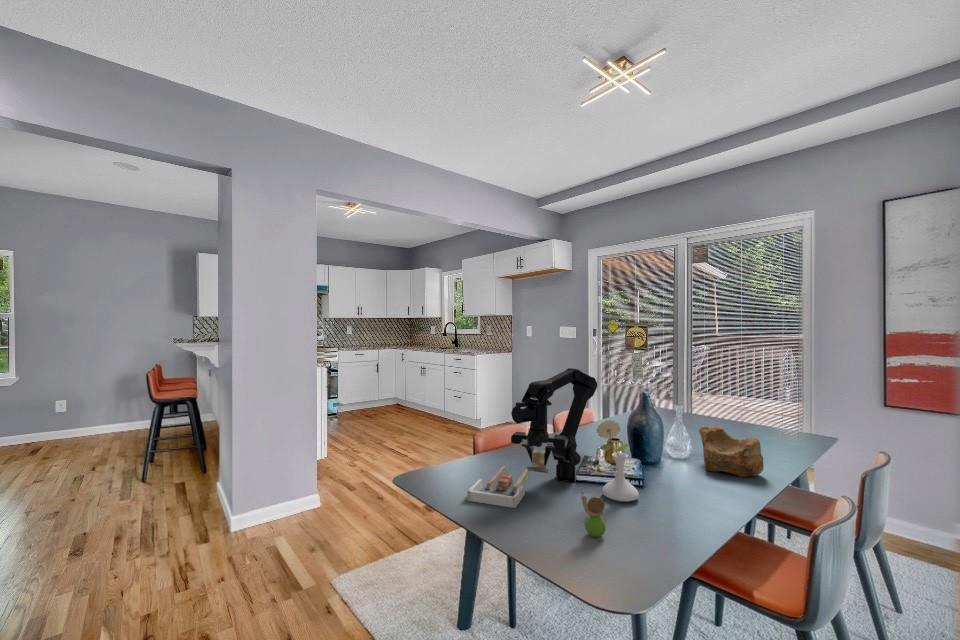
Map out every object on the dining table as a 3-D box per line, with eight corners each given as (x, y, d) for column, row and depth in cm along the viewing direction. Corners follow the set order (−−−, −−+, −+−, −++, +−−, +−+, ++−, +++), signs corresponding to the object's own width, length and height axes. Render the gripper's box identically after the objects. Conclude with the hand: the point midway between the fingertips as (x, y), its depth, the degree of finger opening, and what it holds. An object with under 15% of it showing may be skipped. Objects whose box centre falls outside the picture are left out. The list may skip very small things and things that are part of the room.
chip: (509, 487, 144) (509, 479, 144) (506, 490, 141) (506, 482, 141) (500, 486, 145) (500, 477, 145) (498, 489, 142) (498, 480, 142)
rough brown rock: (682, 467, 166) (680, 430, 165) (707, 457, 174) (706, 422, 173) (742, 489, 145) (741, 447, 144) (767, 476, 153) (766, 437, 152)
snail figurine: (578, 531, 113) (578, 487, 113) (601, 530, 114) (601, 486, 114) (585, 541, 108) (584, 495, 108) (609, 540, 108) (608, 494, 108)
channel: (529, 474, 156) (529, 469, 156) (516, 493, 139) (516, 487, 139) (502, 471, 159) (502, 466, 159) (487, 488, 143) (487, 483, 143)
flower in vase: (638, 493, 138) (637, 417, 139) (639, 507, 128) (639, 425, 128) (597, 488, 143) (597, 415, 143) (595, 501, 132) (595, 422, 132)
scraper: (550, 468, 144) (550, 451, 144) (547, 473, 139) (547, 455, 140) (530, 466, 146) (530, 449, 146) (527, 470, 142) (527, 452, 142)
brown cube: (512, 483, 148) (512, 475, 148) (510, 486, 145) (510, 477, 145) (504, 482, 149) (504, 474, 149) (501, 485, 146) (501, 476, 146)
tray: (524, 494, 138) (524, 485, 138) (515, 508, 128) (515, 498, 128) (479, 487, 144) (479, 479, 144) (467, 500, 133) (467, 491, 133)
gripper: (506, 422, 139) (506, 469, 139) (562, 427, 133) (562, 476, 132) (515, 415, 150) (515, 458, 149) (567, 419, 143) (567, 465, 143)
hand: (539, 464), depth 143 cm, fingers closed on scraper, 4 cm apart
